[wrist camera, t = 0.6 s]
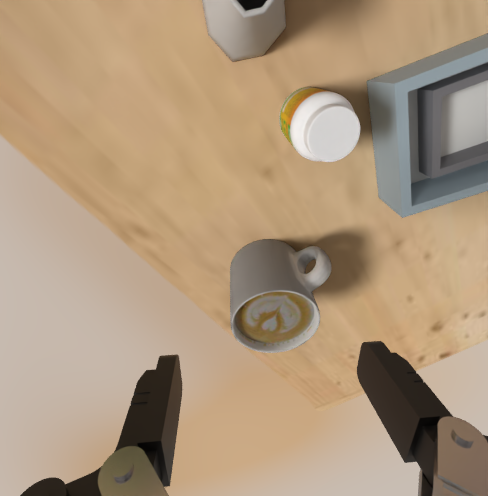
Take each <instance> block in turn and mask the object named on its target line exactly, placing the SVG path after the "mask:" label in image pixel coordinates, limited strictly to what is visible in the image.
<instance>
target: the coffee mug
mask: <svg viewBox="0 0 488 496" xmlns="http://www.w3.org/2000/svg"><path fill="white" fill-rule="evenodd" d="M313 259H316V265H315V267H314V268H313V269H312V270H311V272H309V273H307V274H305V269H306V266H307V264H308V263H309V262H310V261H312V260H313ZM330 273H331V262H330V259H329V257H328V255H327V254H326V253H325V252H324V251H323V250H322V249H321V248H319V247H316V246H310V247H306V248H304V249H302V250H301V251H298V252H296V251H295V250H294V249H293V248H292V247H291V246H289V245H288V244H286V243H284V242H281V241H278V240H271V239H266V240H259V241H255V242H252V243H250V244H248V245H246V246H244V247H243V248H242V249H240V250H239V251H238V252H237V253H236V255H235V256H234V258H233V260H232V262H231V267H230V315H231V330H232V332H233V335H234V337H235V338H236V339H237V340H238V342H240V343H241V344H242V345H244V346H245V347H247V348H249V349H252V350H255V351H259V352H267V353H276V352H283V351H287V350H291V349H293V348H296V347H298V346H300V345H302V344H303V343H305V342H306V341H307V340H309V339H310V338H311V337H312V336H313V335H314V333H315V332H316V330H317V328H318V326H319V323H320V313H319V309H318V306H317V303H316V301H315V299H314V296H313V293H312V291H313V290H315V289H316V288H317V287H319V286H320V285H322V284H323V283H324V282H325V281H326V280H327V279H328V277H329V275H330Z"/></svg>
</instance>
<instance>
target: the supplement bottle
mask: <svg viewBox="0 0 488 496" xmlns="http://www.w3.org/2000/svg"><path fill="white" fill-rule="evenodd" d="M279 122H280V127H281V130H282V132H283V134H284V136H285V137H286V138H287V139H288V141H289V142H290V143H291V145H292V146H293V147H294V148H295V149H296V151H297V152H298V153H299V154H300V155H302V156H303V157H304V158H306V159H309V160H312V161H324V162H334V161H338V160H340V159H342V158H344V157H345V156H347V155H348V154H349V153H350V152H351V151H352V150H353V149H354V147H355V146H356V144H357V142H358V139H359V136H360V122H359V119H358V117H357V115H356V114H355V113H354V110H353V107H352V105H351V104H350V102H349V101H348V100H347V99H346V98H345V97H343V96H342V95H340V94H337V93H335V92H331V91H326V90H322V89H318V88H314V87H304V88H300V89H298V90H296V91H294V92H293V93H292V94H290V95H289V96H288V97H287V99H286V100H285V102H284V103H283V105H282V108H281V111H280V116H279Z"/></svg>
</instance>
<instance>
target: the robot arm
mask: <svg viewBox="0 0 488 496" xmlns="http://www.w3.org/2000/svg"><path fill="white" fill-rule="evenodd" d="M357 375H358V379H359V382H360V384H361V386H362V388H363V389H364V391H365V393H366V394H367V396H368V398H369V400H370V402H371V404H372V405H373V407H374V409H375V410H376V412H377V414H378V416H379V418H380V419H381V421H382V423H383V425H384V427H385V428H386V430H387V432H388V434H389V435H390V437H391V439H392V441H393V443H394V444H395V446H396V448H397V450H398V451H399V453H400V455H401V457H402V458H403V460H404V462H405V463H407V462H417V463H418V464H419V466H420V468H421V470H420V474H419V489H418V496H488V436H485V435H482V434H481V432H480V431H479V430H477V429H476V428H475V427H474V426H472V425H471V424H469V423H468V422H466V421H464V420H462V419H459V418H456V417H453V416H452V415H451V414H450V412H449V411H448V410H447V409H446V407H445V406H444V405H443V404H442V403H441V401H440V400H439V399H438V398H437V397H436V395H435V394H434V393H433V392H432V390H431V389H430V388H429V387H428V386H427V385H426V383H425V382H423V380H422V379H421V377H420V376H419V375H418V374H416V371H415V370H414V369H413V367H412V366H411V365H410V364H409V362H408V361H406V360H405V359H404V358H402V357H401V356H400V355H398V354H397V353H391V352H390V351H389V349H388V348H387V347H386V345H385V344H384V343H383V342H381V341H374V342H363V343H362V345H361V350H360V355H359V361H358V366H357ZM181 397H182V378H181V370H180V362H179V356H178V355H166V356H160V357H159V360H158V364H157V368H156V370H146V371H145V373H144V374H143V375H142V376H141V378H140V379H139V380H138V382H137V385H136V388H135V392H134V396H133V398H132V401H131V406H130V408H129V410H128V414H127V417H126V420H125V423H124V426H123V429H122V433H121V436H120V439H119V442H118V445H117V447H116V450H115V451H114V453H113V454H112V455H111V456H110V457H109V458H108V459H107V460H106V461H105V462H104V464H103V466H102V467H100V468H99V469H98V470H96V471H95V472H93V473H91V474H89V475H86V476H84V477H82V478H79V479H77V480H75V481H72V482H70V483H68V484H65V483H64V482H63V481H62V480H61V479H59V478H47V479H43V480H41V481H39V482H37V483H35V484H34V485H32V486H31V487H29V488H28V489H27V490H26V491H24V492H23V493H22V494H21V495H20V496H169V495H168V494H167V492H166V490H165V488H164V487H165V486H170V480H171V473H172V465H173V458H174V450H175V443H176V435H177V428H178V421H179V413H180V406H181Z"/></svg>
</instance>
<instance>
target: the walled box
mask: <svg viewBox="0 0 488 496" xmlns="http://www.w3.org/2000/svg"><path fill="white" fill-rule="evenodd" d="M367 88H368V97H369V107H370V117H371V126H372V136H373V146H374V155H375V165H376V175H377V184H378V194H379V198H380V199H381V200H382V201H383V202H385V203H386V204H387V205H388V206H389V207H390V208H391V209H393V210H394V211H395V212H396V213H397V214H398V215H400V216H401V217H402V218H403V217H406V216H409V215H413V214H416V213H419V212H422V211H425V210H428V209H432V208H435V207H438V206H441V205H444V204H447V203H450V202H454V201H457V200H460V199H463V198H466V197H469V196H473V195H476V194H479V193H482V192H485V191H488V33H487V34H485V35H482V36H480V37H477V38H475V39H472V40H470V41H467V42H465V43H462V44H460V45H457V46H454V47H452V48H449V49H447V50H444V51H442V52H439V53H437V54H434V55H432V56H429V57H427V58H424V59H421V60H419V61H416V62H414V63H411V64H409V65H406V66H404V67H401V68H399V69H396V70H394V71H391V72H389V73H386V74H383V75H381V76H378V77H376V78H373V79H371V80H368V81H367Z"/></svg>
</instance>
